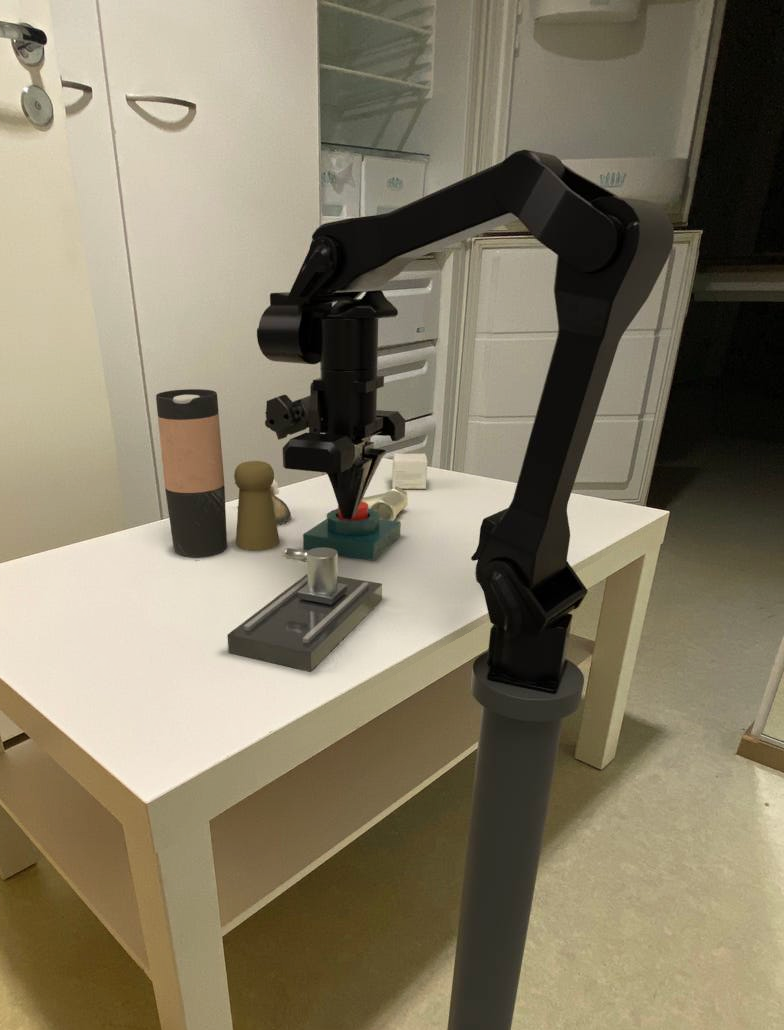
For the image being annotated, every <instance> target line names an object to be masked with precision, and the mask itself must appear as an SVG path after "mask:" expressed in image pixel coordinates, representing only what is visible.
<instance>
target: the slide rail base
mask: <svg viewBox="0 0 784 1030" xmlns="http://www.w3.org/2000/svg"><path fill="white" fill-rule="evenodd" d="M338 583H341V584H347V592H346V593H344V594H343V595H342V596H341V597H340V598H339V599H338V600H337V601H335V602H334V603H333V604H332V605H330V604H325V603H319V602H314V601H308V600H303V599H298V591H299V590H301V589H302V588H303V587H304V586H306V585H307V584H308V583H307V573H305V574H304V576H302V577H301V578H299V579H298V580H297V581H295V582H294V583H293V584H292V585H291V586H289V587H288V588H287V589H285V590H284V591H282V592H281V593H280V594H279V595H278V596H276V597H274V598H273V599H272V600H271V601H269V602H268V603H266V604H265V605H264V606H263V607H262V608H261V609H259V610H258V611H257V612H255V613H254V614H252V615H251V616H250V617H248V618H247V619H246V620H244V621H243V622H241V624H239V625H238V626H236V628H234V629H233V630H231V631H230V632H229V633H228V634H227V635H226V637H227V649H228V653H229V654H232V655H236V656H237V655H238V656H242V657H247V658H249V659H250V658H251V659H254V660H258V661H263V662H267V663H271V664H276V665H281V666H286V667H289V668H294V669H298V670H303V671H307V672H312V671H314V669H315V668H316V667H317V666H318V665H319V664H320V663H321V662H323V660H324V659H325V658H326V657H327V656H329V654H330V653H331V652H332V651H333V650H334V649H335V648H336V647H337V646H338V645H339V644H340V643H341V642H342V641H343V640H344V639H345V638H346V637H347V636H348V635H349V634H350V633H351V631H353V630H354V629H355V628H356V627H357V625H359V624H360V622H362V620H363V619H365V618H366V616H368V614H370V613H371V611H373V609H375V607H377V605H379V603H380V602H381V601H382V600H383V583H382V582H376V581H375V582H374V581H368V580H362V579H356V578H350V577H344V576H339V575H338Z"/></svg>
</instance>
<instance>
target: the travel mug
mask: <svg viewBox="0 0 784 1030" xmlns="http://www.w3.org/2000/svg"><path fill="white" fill-rule="evenodd" d="M155 400H156V401H155V402H156V412H157V420H158V433H159V441H160V450H161V461H162V471H163V481H164V490H165V497H166V505H167V511H168V518H169V526H170V532H171V533H170V534H171V539H172V540H171V541H172V545H173V551H174V553H175V554H177V555H178V556H182V557H187V558H207V557H212V556H215V555H219V554H222V553H223V552H224V551H226V550H227V547H228V541H227V539H228V537H227V515H226V514H227V512H226V511H227V510H226V487H225V474H224V473H225V472H224V462H223V461H224V460H223V450H222V435H221V426H220V413H219V411H220V410H219V402H218V401H219V400H218V393H217V391H215V390H211V389H204V388H203V389H201V388H189V389H188V388H187V389H185V388H183V389H174V390H166V391H162V392H159V393H157V394H156V395H155Z"/></svg>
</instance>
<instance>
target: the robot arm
mask: <svg viewBox="0 0 784 1030" xmlns="http://www.w3.org/2000/svg"><path fill="white" fill-rule="evenodd" d="M515 221H520V223H522V225H524V227H525V228H526V229H527V230H528V231H529V233H530V234H531V235H532V236H533V237H534V238H535V240H537V241H538V242H539V243H541V244H542V245H543V246H544V247H546V248H547V249H548V250H550V251H551V252H553V253H554V254H555V255H556V256H557V257H556V265H555V272H554V284H553V296H554V304H555V312H556V319H557V336H556V339H555V343H554V347H553V350H552V353H551V357H550V362H549V366H548V369H547V372H546V376H545V380H544V382H543V387H542V390H541V391H542V392H541V396H540V398H539V402H538V406H537V409H536V414H535V416H534V419H533V420H534V421H533V424H532V427H531V432H530V435H529V439H528V443H527V446H526V449H525V453H524V457H523V461H522V464H521V468H520V472H519V475H518V479H517V482H516V487H515V490H514V493H513V497H512V500H511V502H510V504H509V506H508V507H507V508H504V509H502V510H500V511H498V512H495V513H493V514H491V515H488V516H486V517H484V518H483V519H482V521H481V525H480V528H479V537H478V538H479V539H478V544H477V547H476V549H475V552H474V553H473V554H472V556H471V557H470V560H471V561H473V562H475V561H477V562H476V564H475V573H474V575H475V580H476V581H475V582H476V583H478V584H479V586H480V588H481V590H482V592H483V596H484V601H485V604H486V605H485V606H486V608H487V614H488V618H489V621H490V622H489V623H490V624H492V626H491V628H490V631H489V641H488V649H487V652H488V658H487V664H488V666H491V668H490V670H489V672H488V674H487V679H488V680H489V681H493V682H498V683H503V684H507V685H512V686H517V687H522V688H526V689H531V690H536V691H540V692H545V693H550V694H556V693H557V691H558V689H559V686H560V683H561V681H562V678H563V675H564V673H565V670H566V667H567V663H568V662H567V660H565V658H566V659H567V651H568V645H569V639H570V634H571V628H572V627H571V626H572V620H573V614H572V613H571V612H572V611H574V610H577V609H578V608H579V607H580V606H581V604H582V603H583V601H584V599H585V598H586V597H587V594H588V592H589V591H588V588H587V587H586V585H585V584H584V583H583V581H582V580H581V579H580V577H579V576H578V574H577V573H576V571H575V570H574V568H573V567H572V566H571V565H570V563H569V561H568V555H569V548H570V540H571V530H570V523H569V516H568V504H569V501H570V498H571V495H572V492H573V488H574V485H575V482H576V480H577V479H576V478H577V476H578V473H579V469H580V467H581V463H582V460H583V456H584V454H585V451H586V447H587V445H588V444H587V443H588V441H589V438H590V435H591V432H592V428H593V425H594V422H595V419H596V415H597V413H598V410H599V407H600V403H601V400H602V396H603V394H604V390H605V387H606V384H607V381H608V378H609V375H610V372H611V369H612V366H613V364H614V363H613V362H614V359H615V356H616V353H617V350H618V346H619V344H620V342H621V339H622V337H623V335H624V334H625V332H626V330H627V329H628V328H629V326H630V325H631V324H632V322H633V321H634V319H635V318H636V316H637V315H638V313H639V312H640V310H641V309H642V308H643V306H644V305H645V303H646V302H647V301H648V299H649V297H650V296H651V294H652V291H653V289H654V287H655V285H656V283H657V282H658V280H659V278H660V275H661V273H662V271H663V269H664V267H665V265H666V263H667V261H668V259H669V257H670V254H671V252H672V250H673V247H674V239H675V229H674V225H673V224H672V222H671V220H670V217H669V216H668V213H667V211H666V210H665V209H663V208H662V207H661V206H660V205H659V204H658V203H655V202H652V201H649V200H647V199H639V198H630V197H621V196H619V195H617V194H615V193H613V192H612V191H610V190H608V189H607V188H605V187H603V186H601V185H599V184H597V183H596V182H595V181H592V180H591V179H588V178H587V177H585V176H583V175H581V174H579V173H578V172H576V171H574V170H573V169H572V168H570V167H569V166H567V165H566V164H564V163H563V162H562V160H561V159H560V158H558V156H556V155H554V154H551V153H545V152H540V151H535V150H529V149H521V150H517V151H515V152H512V153H511V154H510V155H508V157H506V158H505V159H503V160H502V161H501V162H498V163H496V164H494V165H492V166H490V167H487V168H485V169H483V170H481V171H478V172H476V173H474V174H471V175H469V176H467V177H466V178H463V179H461V180H459V181H456V182H454V183H452V184H450V185H448V186H446V187H443V188H440V189H438V190H436V191H434V192H432V193H430V194H427V195H425V196H423V197H421V198H418V199H416V200H414V201H412V202H410V203H408V204H405V205H403V206H401V207H399V208H396V209H394V210H392V211H389V212H387V213H381V214H375V215H366V216H359V217H357V216H356V217H350V218H345V219H340V220H335V221H330V222H326V223H322V224H321V225H320V226H318V227H317V228H316V229H315V230H314V231H313V232H312V235H311V242H310V245H309V249H308V251H307V254H306V256H305V258H304V260H303V262H302V264H301V267H300V268H299V271H298V274H297V275H296V278H295V280H294V282H293V284H292V286H291V289H290V290H289V291H287V292H286V291H285V292H284V291H283V292H280V291H279V292H270V294H269V306H268V307H267V308H265V310H264V311H263V313H262V314H261V316H260V319H259V322H258V327H257V328H256V339H257V344H258V346H259V350H260V352H261V353H262V355H263V356H264V357H265V358H266V359H268V360H269V361H272V362H279V363H291V364H300V365H301V364H303V365H317V364H319V365H320V366H319V367H320V369H319V373H320V375H319V376H320V377H318V378H315V379H312V382H311V383H310V387H309V388H310V389H309V390H310V395H308V396H305V397H302V398H300V399H296V400H293V401H292V399H290V397H289V396H288V395H287V394H282V395H279V396H275V397H273V398H271V399H268V400H266V407H265V412H264V413H265V420H264V425H265V427H266V428H267V429H270V430H271V431H272V432H275V434H276V438H277V440H282V439H285V438H287V437H288V435H289V436H292V435H294V434H297V433H300V432H302V431H305V430H307V429H308V432H304V433H302V434H299V435H297V436H294V437H292V438H290V439H289V440H288V441H287V442H286V443H285V444H284V446H283V447H282V467H283V468H284V469H287V470H294V471H295V470H296V471H305V472H306V471H307V472H317V473H326V475H327V477H328V478H329V482H330V484H331V486H332V490H333V493H334V496H335V499H336V502H337V503H336V504H337V507H338V506H339V509H340V512H341V515H342V518H344V519H349V520H350V519H352V518H354V516H355V514H356V512H357V510H358V508H359V505H360V503H361V501H362V499H363V498H364V497H365V494H366V492H367V490H368V488H369V486H370V484H371V481H372V479H373V477H374V475H375V473H376V471H377V469H378V467H379V465H380V463H381V462H382V459H383V457H384V456H386V453H387V450H386V449H384V448H383V449H382V448H375V447H374V446H375V442H374V441H371V438H372V437H375V436H381V437H390V440H391V442H398V441H401V440H402V439H403V438H405V437H406V419H405V418H404V416H403V415H402V414H401V413H400V411H398V410H397V411H396V410H379V409H377V408H378V405H377V403H378V389H380V388H384V387H385V375H378V361H379V360H378V355H379V354H378V353H379V351H378V349H379V319H390V318H391V319H392V318H396V317H397V316H398V314H399V311H398V309H397V308H396V307H395V305H394V304H392V302H390V301H389V300H388V299H387V297H386V296H385V294H384V292H383V290H380V289H379V288H380V287H382V286H384V284H386V283H388V282H389V281H391V280H393V279H394V278H396V277H397V276H399V275H400V274H401V273H403V271H404V270H405V269H406V267H407V266H408V265H409V264H411V263H413V262H414V261H416V260H417V259H419V258H421V257H423V256H426V255H429V254H432V253H434V252H437V251H439V250H442V249H444V248H447V247H449V246H452V245H454V244H458V243H461V242H462V241H465V240H468V239H470V238H474V237H475V236H476V237H477V236H478V235H481V234H484V233H487V232H489V231H492V230H494V229H497V228H500V227H502V226H505V225H507V224H510V223H513V222H515ZM376 289H377V290H376ZM364 292H365V293H364ZM363 293H364V295H363V296H362V297H361V298H359V297H360V296H361V295H362V294H363ZM333 303H334V304H333Z"/></svg>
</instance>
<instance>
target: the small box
mask: <svg viewBox="0 0 784 1030" xmlns="http://www.w3.org/2000/svg"><path fill="white" fill-rule="evenodd" d="M428 465H429V464H428V458H427V454H426V453H393V456H392V470H391V471H392V474H391V475H392V476H391V487H392V488H394V487H396V486H397V487H399V488H401V489H403V490H404V489H406V490H408V489H412V490H413V489H416V490H417V489H418V490H419V489H420V490H426V489H427V479H428ZM392 488H391V489H392Z"/></svg>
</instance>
